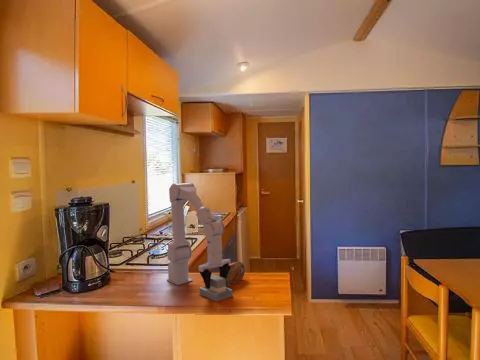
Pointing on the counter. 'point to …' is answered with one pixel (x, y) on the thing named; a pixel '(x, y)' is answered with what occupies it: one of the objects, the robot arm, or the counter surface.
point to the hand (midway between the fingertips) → (215, 285)
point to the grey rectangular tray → (215, 296)
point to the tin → (235, 273)
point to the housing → (217, 284)
